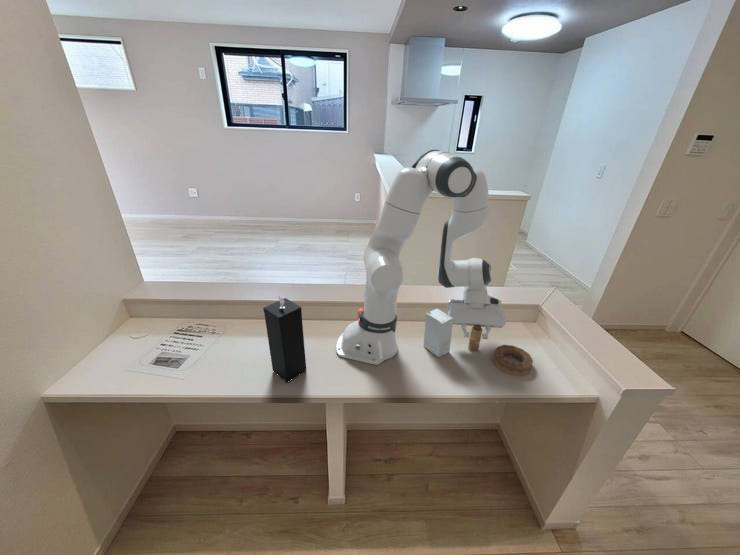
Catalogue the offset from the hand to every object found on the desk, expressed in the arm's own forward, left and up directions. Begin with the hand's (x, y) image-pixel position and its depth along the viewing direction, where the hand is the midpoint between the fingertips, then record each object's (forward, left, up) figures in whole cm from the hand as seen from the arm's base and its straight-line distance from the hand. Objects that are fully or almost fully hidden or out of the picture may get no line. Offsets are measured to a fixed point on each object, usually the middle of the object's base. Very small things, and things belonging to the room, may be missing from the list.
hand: (476, 338), depth 112 cm
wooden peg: (0, +1, -5) cm, 5 cm away
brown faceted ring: (+12, -5, -5) cm, 14 cm away
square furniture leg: (-63, -19, -6) cm, 66 cm away
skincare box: (-14, -1, -6) cm, 15 cm away
